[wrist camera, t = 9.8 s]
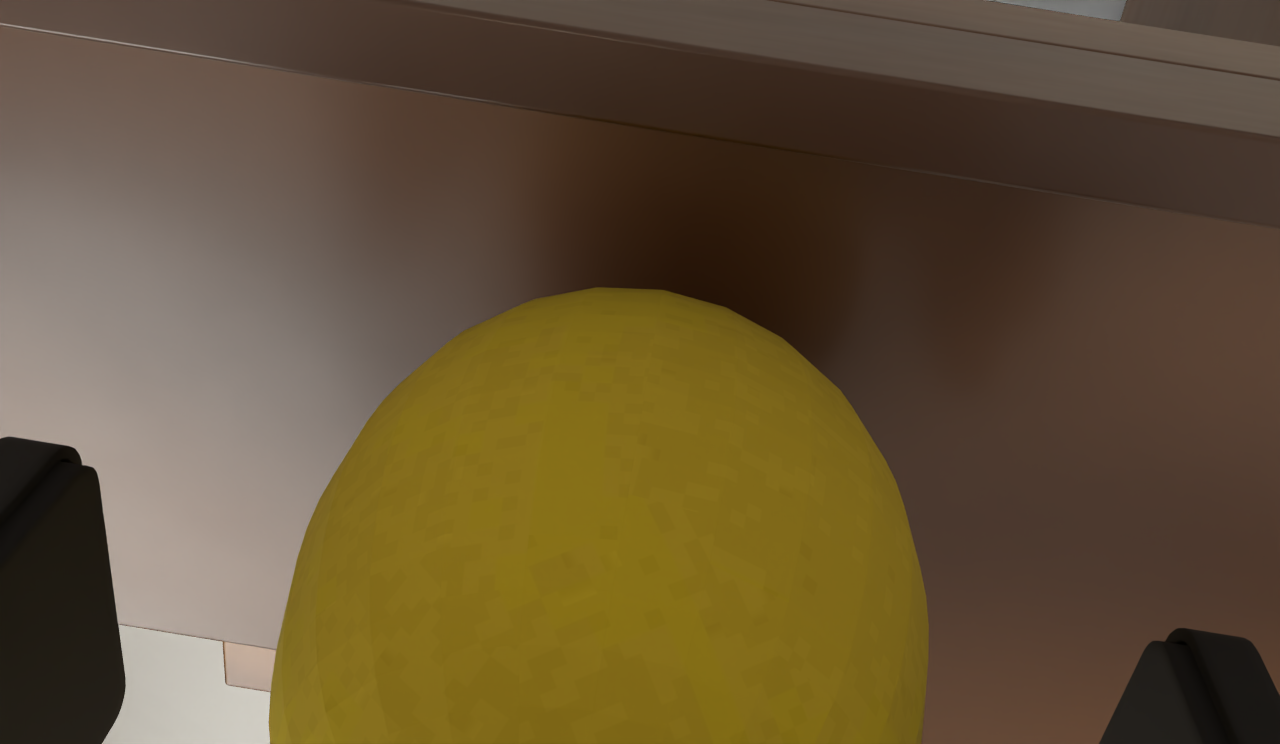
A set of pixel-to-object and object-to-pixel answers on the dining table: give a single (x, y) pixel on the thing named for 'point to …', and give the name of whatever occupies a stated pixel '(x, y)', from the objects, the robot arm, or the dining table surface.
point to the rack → (677, 279)
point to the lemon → (607, 547)
